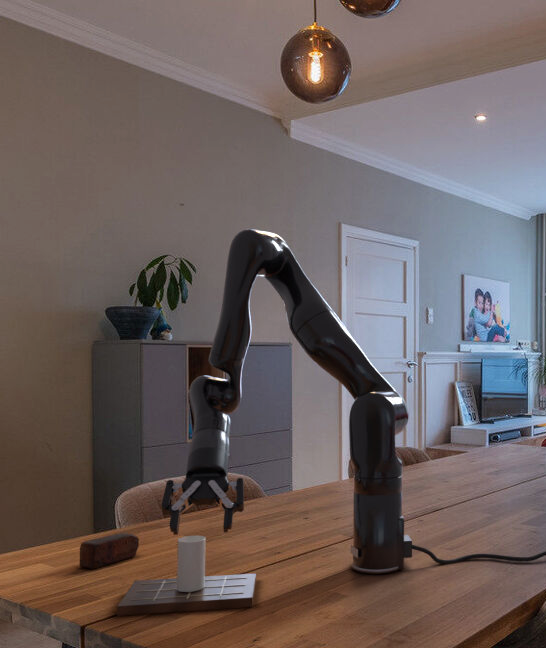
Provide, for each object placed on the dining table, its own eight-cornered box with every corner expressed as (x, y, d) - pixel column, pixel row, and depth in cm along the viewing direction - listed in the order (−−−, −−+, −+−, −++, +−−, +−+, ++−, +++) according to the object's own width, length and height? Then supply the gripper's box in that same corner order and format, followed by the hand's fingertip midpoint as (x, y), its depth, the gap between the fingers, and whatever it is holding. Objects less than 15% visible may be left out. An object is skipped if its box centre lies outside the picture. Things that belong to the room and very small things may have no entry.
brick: (94, 570, 134) (94, 544, 135) (78, 567, 136) (79, 542, 136) (139, 556, 144) (139, 532, 144) (124, 553, 146) (124, 530, 146)
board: (256, 582, 128) (256, 572, 128) (252, 607, 115) (252, 596, 115) (134, 589, 124) (134, 579, 124) (116, 616, 111) (117, 605, 111)
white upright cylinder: (206, 582, 122) (207, 534, 123) (203, 591, 118) (204, 541, 118) (178, 584, 121) (179, 536, 122) (174, 592, 117) (175, 542, 117)
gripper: (168, 446, 137) (155, 521, 125) (246, 444, 140) (241, 517, 128) (171, 470, 142) (160, 544, 130) (247, 468, 145) (242, 540, 133)
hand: (200, 531), depth 129 cm, fingers open, 8 cm apart
